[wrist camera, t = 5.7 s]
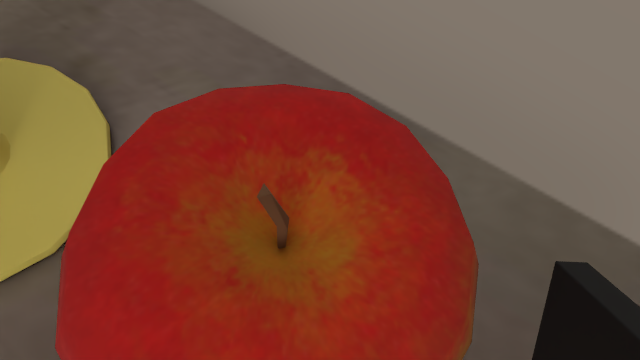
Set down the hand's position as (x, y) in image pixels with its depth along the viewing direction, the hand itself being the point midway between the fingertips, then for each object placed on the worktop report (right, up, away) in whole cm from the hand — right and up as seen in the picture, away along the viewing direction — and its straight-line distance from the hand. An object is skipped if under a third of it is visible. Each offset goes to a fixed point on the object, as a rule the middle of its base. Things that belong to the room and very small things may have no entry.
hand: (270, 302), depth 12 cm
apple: (-1, -3, +7) cm, 7 cm away
